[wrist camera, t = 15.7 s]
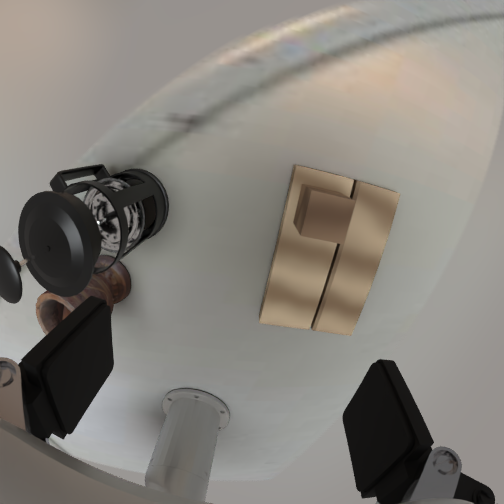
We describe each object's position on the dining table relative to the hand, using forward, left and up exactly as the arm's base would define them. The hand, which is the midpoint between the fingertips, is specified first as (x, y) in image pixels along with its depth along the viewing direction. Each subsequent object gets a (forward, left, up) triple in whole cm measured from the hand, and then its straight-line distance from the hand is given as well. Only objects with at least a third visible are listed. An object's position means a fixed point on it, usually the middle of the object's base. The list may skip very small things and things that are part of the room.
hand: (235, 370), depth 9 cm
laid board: (-4, -13, -27) cm, 30 cm away
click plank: (-4, -6, -26) cm, 27 cm away
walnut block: (+2, -6, -25) cm, 25 cm away
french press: (-2, +16, -27) cm, 31 cm away
